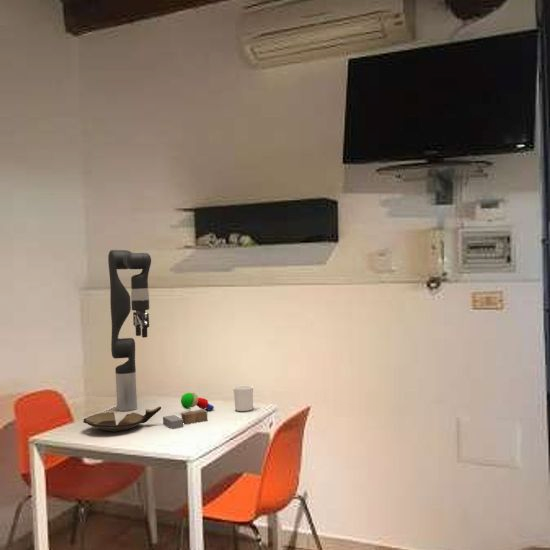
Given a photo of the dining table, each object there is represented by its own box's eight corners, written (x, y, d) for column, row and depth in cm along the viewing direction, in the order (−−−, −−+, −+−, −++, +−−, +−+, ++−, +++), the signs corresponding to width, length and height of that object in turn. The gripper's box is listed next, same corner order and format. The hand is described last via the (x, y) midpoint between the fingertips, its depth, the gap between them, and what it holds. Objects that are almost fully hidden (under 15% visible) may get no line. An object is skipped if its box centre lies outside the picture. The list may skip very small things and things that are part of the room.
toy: (201, 416, 275) (174, 404, 267) (208, 400, 277) (182, 388, 270) (210, 419, 268) (183, 407, 260) (217, 403, 270) (190, 390, 263)
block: (181, 413, 251) (203, 409, 256) (181, 422, 251) (203, 419, 256) (184, 415, 247) (207, 411, 252) (185, 424, 247) (207, 420, 252)
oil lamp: (97, 422, 257) (96, 405, 257) (165, 421, 254) (164, 404, 254) (74, 437, 234) (73, 417, 234) (148, 436, 231) (148, 416, 231)
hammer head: (163, 423, 250) (163, 416, 250) (174, 422, 252) (174, 414, 252) (171, 428, 241) (171, 421, 241) (183, 426, 244) (183, 419, 244)
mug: (251, 412, 264) (250, 389, 264) (232, 412, 266) (231, 389, 266) (256, 406, 275) (255, 384, 275) (238, 406, 277) (237, 384, 276)
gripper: (126, 299, 262) (128, 336, 262) (136, 300, 250) (138, 338, 250) (143, 298, 266) (144, 334, 266) (154, 299, 253) (155, 337, 253)
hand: (141, 336), depth 258 cm, fingers open, 8 cm apart
